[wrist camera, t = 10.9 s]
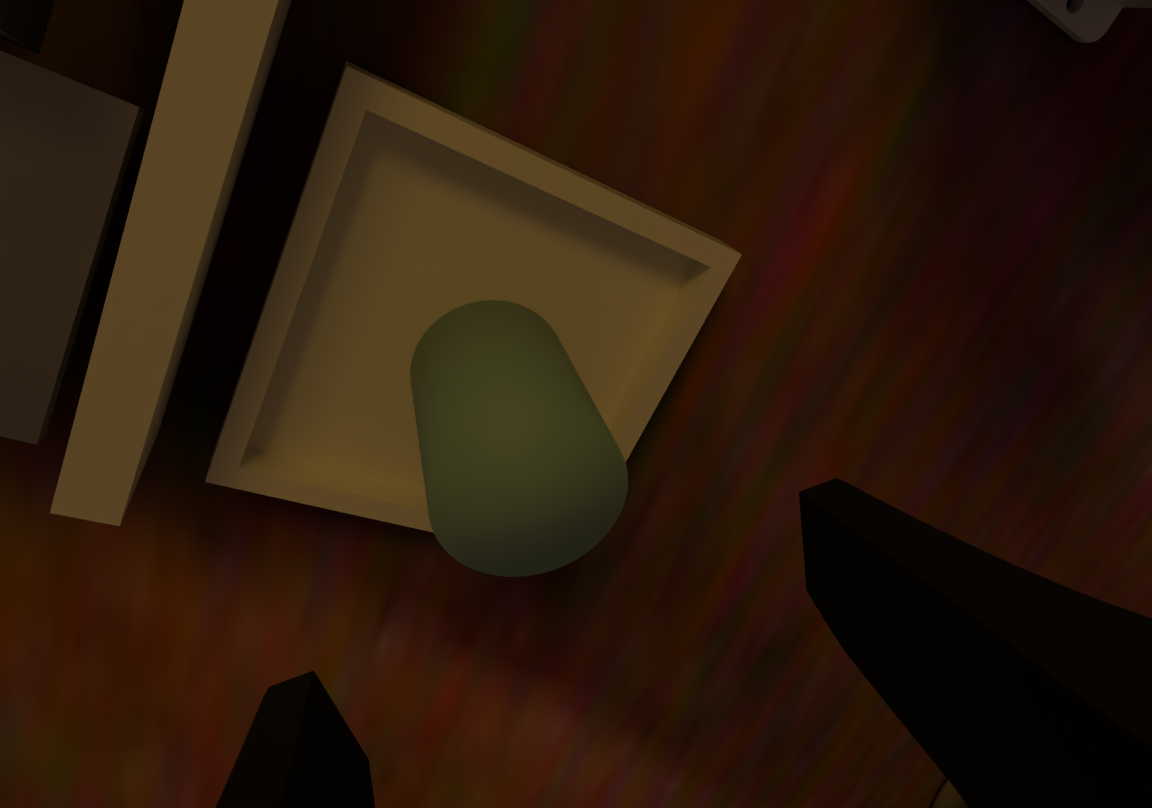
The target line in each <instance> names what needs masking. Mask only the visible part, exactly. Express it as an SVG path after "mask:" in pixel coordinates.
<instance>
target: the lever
mask: <svg viewBox="0 0 1152 808" xmlns="http://www.w3.org/2000/svg"><path fill="white" fill-rule="evenodd" d="M54 1H55V0H0V38H1V39H3V40H5V41H8V42H10V43H13V44H15V45H18V46H20V47H22V48H25V49H27V50H30V51H32V52H35V53H37V54H39V53H40V50H41V46H42V43H43V39H44V36H45V32H46V29H47V25H48V22H49V18H50V15H51V11H52V8H53V4H54ZM143 114H144V110H143V109H141V108H140V107H138V106H136V105H133V104H131V103H128V102H126V101H123V100H121V99H119V98H116V97H114V96H111V95H109V94H106V93H104V92H101V91H99V90H96V89H94V88H91V87H89V86H86V85H84V84H82V83H79V82H77V81H74V80H72V79H69V78H67V77H64V76H62V75H59V74H57V73H54V72H52V71H50V70H47V69H45V68H42V67H40V66H37V65H35V64H32V63H30V62H27V61H25V60H22V59H20V58H17V57H15V56H13V55H10V54H8V53H5V52H3V51H0V437H5V438H9V439H14V440H19V441H23V442H28V443H32V444H38V443H39V442H40V440H41V439H42V438H43V437H44V436H45V435H46V432H47V429H48V426H49V423H50V419H51V416H52V413H53V409H54V406H55V403H56V400H57V396H58V393H59V390H60V386H61V383H62V380H63V377H64V373H65V370H66V367H67V363H68V360H69V357H70V354H71V350H72V347H73V344H74V340H75V337H76V334H77V331H78V327H79V324H80V321H81V317H82V314H83V311H84V308H85V304H86V301H87V298H88V295H89V291H90V288H91V285H92V281H93V278H94V275H95V272H96V268H97V265H98V262H99V258H100V255H101V252H102V249H103V245H104V242H105V239H106V235H107V232H108V229H109V226H110V222H111V219H112V216H113V212H114V209H115V206H116V203H117V199H118V196H119V193H120V189H121V186H122V183H123V180H124V176H125V173H126V170H127V166H128V163H129V160H130V157H131V153H132V150H133V147H134V143H135V140H136V137H137V134H138V130H139V127H140V124H141V121H142V117H143Z"/></svg>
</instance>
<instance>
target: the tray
mask: <svg viewBox="0 0 1152 808" xmlns="http://www.w3.org/2000/svg"><path fill="white" fill-rule="evenodd" d="M741 255H742V254H740V253H739V252H737V251H736V250H734V249H733V248H731V247H730V246H728V245H727V244H725V243H723V242H722V241H720V240H719V239H717V238H715V237H713V236H711V235H709V234H707V233H705V232H702V231H700V230H698V229H696V228H694V227H692V226H690V225H688V224H686V223H684V222H682V221H680V220H678V219H675V218H673V217H671V216H669V215H667V214H665V213H663V212H661V211H659V210H657V209H655V208H653V207H650V206H648V205H646V204H644V203H642V202H640V201H638V200H636V199H634V198H632V197H630V196H628V195H625V194H623V193H621V192H619V191H617V190H615V189H613V188H611V187H609V186H607V185H605V184H603V183H600V182H598V181H596V180H594V179H592V178H590V177H588V176H586V175H584V174H582V173H580V172H578V171H575V170H573V169H571V168H569V167H567V166H565V165H563V164H561V163H559V162H557V161H555V160H553V159H550V158H548V157H546V156H544V155H542V154H540V153H538V152H536V151H534V150H532V149H530V148H528V147H525V146H523V145H521V144H519V143H517V142H515V141H513V140H511V139H509V138H507V137H505V136H503V135H500V134H498V133H496V132H494V131H492V130H490V129H488V128H486V127H484V126H482V125H480V124H478V123H476V122H473V121H471V120H469V119H467V118H465V117H463V116H461V115H459V114H457V113H455V112H453V111H451V110H448V109H446V108H444V107H442V106H440V105H438V104H436V103H434V102H432V101H430V100H428V99H426V98H423V97H421V96H419V95H417V94H415V93H413V92H411V91H409V90H407V89H405V88H403V87H401V86H398V85H396V84H394V83H392V82H390V81H388V80H386V79H384V78H382V77H380V76H378V75H376V74H373V73H371V72H369V71H367V70H365V69H363V68H361V67H359V66H357V65H355V64H353V63H351V62H348V61H346V62H345V65H344V68H343V71H342V74H341V77H340V80H339V83H338V86H337V89H336V92H335V95H334V98H333V101H332V103H331V106H330V109H329V112H328V115H327V118H326V121H325V124H324V127H323V130H322V133H321V136H320V139H319V142H318V145H317V148H316V151H315V154H314V157H313V159H312V162H311V165H310V168H309V171H308V174H307V177H306V180H305V183H304V186H303V189H302V192H301V195H300V198H299V201H298V204H297V207H296V210H295V212H294V215H293V218H292V221H291V224H290V227H289V230H288V233H287V236H286V239H285V242H284V245H283V248H282V251H281V254H280V257H279V260H278V263H277V266H276V268H275V271H274V274H273V277H272V280H271V283H270V286H269V289H268V292H267V295H266V298H265V301H264V304H263V307H262V310H261V313H260V316H259V319H258V322H257V324H256V327H255V330H254V333H253V336H252V339H251V342H250V345H249V348H248V351H247V354H246V357H245V360H244V363H243V366H242V369H241V372H240V375H239V377H238V380H237V383H236V386H235V389H234V392H233V395H232V398H231V401H230V404H229V407H228V410H227V413H226V416H225V419H224V422H223V425H222V428H221V431H220V433H219V436H218V439H217V442H216V445H215V448H214V451H213V455H212V458H211V462H210V466H209V469H208V473H207V477H206V480H205V482H208V483H212V484H217V485H221V486H226V487H230V488H235V489H239V490H244V491H248V492H253V493H257V494H262V495H266V496H271V497H276V498H280V499H285V500H289V501H294V502H298V503H303V504H307V505H312V506H316V507H321V508H325V509H330V510H334V511H339V512H343V513H348V514H352V515H357V516H361V517H366V518H370V519H375V520H379V521H384V522H388V523H393V524H398V525H402V526H407V527H411V528H416V529H420V530H425V531H429V532H433V530H432V527H431V523H430V519H429V513H428V506H427V499H426V491H425V484H424V477H423V469H422V462H421V455H420V447H419V440H418V433H417V425H416V418H415V410H414V403H413V396H412V388H411V380H410V368H411V362H412V357H413V354H414V351H415V349H416V346H417V345H418V343H419V341H420V339H421V338H422V336H423V335H424V333H425V332H426V331H427V330H428V328H429V327H430V326H431V325H432V324H433V323H434V322H436V321H437V320H438V319H439V318H440V317H442V316H443V315H445V314H446V313H448V312H450V311H451V310H454V309H456V308H458V307H460V306H463V305H466V304H469V303H473V302H478V301H486V300H499V301H507V302H513V303H516V304H519V305H522V306H524V307H526V308H528V309H531V310H532V311H534V312H535V313H537V314H538V315H540V316H541V317H542V318H543V319H544V320H546V321H547V323H548V324H549V325H550V326H551V327H552V328H553V330H554V332H555V333H556V335H557V336H558V338H559V340H560V342H561V344H562V345H563V347H564V349H565V351H566V353H567V354H568V356H569V358H570V360H571V362H572V364H573V365H574V367H575V369H576V371H577V373H578V374H579V376H580V378H581V380H582V382H583V383H584V385H585V387H586V389H587V391H588V393H589V394H590V396H591V398H592V400H593V402H594V403H595V405H596V407H597V409H598V411H599V413H600V414H601V416H602V418H603V420H604V422H605V423H606V425H607V427H608V429H609V431H610V432H611V434H612V436H613V438H614V440H615V442H616V443H617V445H618V447H619V449H620V451H621V453H622V455H623V457H624V460H625V462H626V461H627V459H628V457H629V455H630V454H631V452H632V450H633V448H634V446H635V445H636V443H637V441H638V439H639V437H640V436H641V434H642V432H643V430H644V428H645V427H646V425H647V423H648V421H649V420H650V418H651V416H652V414H653V412H654V411H655V409H656V407H657V405H658V403H659V402H660V400H661V398H662V396H663V394H664V393H665V391H666V389H667V387H668V386H669V384H670V382H671V380H672V378H673V377H674V375H675V373H676V371H677V369H678V368H679V366H680V364H681V362H682V361H683V359H684V357H685V355H686V353H687V352H688V350H689V348H690V346H691V344H692V343H693V341H694V339H695V337H696V335H697V334H698V332H699V330H700V328H701V327H702V325H703V323H704V321H705V319H706V318H707V316H708V314H709V312H710V310H711V309H712V307H713V305H714V303H715V302H716V300H717V298H718V296H719V294H720V293H721V291H722V289H723V287H724V285H725V284H726V282H727V280H728V278H729V276H730V275H731V273H732V271H733V269H734V268H735V266H736V264H737V262H738V260H739V259H740V257H741Z"/></svg>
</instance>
